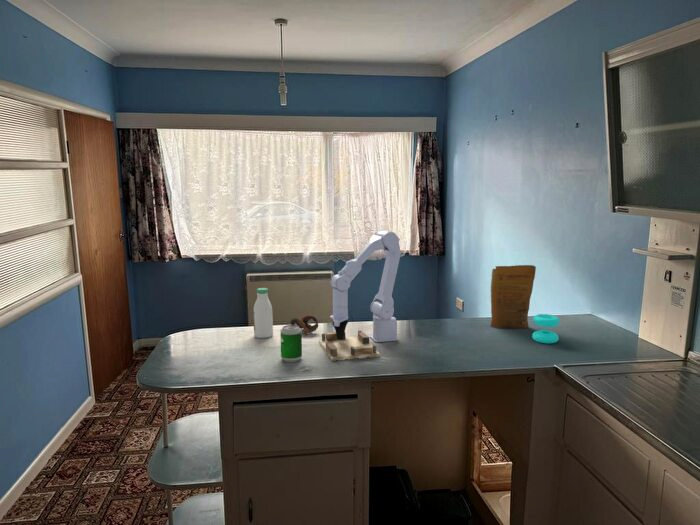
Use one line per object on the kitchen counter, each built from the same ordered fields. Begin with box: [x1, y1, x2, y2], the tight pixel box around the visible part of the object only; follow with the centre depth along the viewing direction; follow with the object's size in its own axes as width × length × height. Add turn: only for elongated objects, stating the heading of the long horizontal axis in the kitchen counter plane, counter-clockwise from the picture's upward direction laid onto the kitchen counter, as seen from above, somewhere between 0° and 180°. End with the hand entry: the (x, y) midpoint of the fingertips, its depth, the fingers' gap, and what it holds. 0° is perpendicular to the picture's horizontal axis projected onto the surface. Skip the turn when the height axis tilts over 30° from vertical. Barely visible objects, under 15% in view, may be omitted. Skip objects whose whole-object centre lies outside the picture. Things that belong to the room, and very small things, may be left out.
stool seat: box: [318, 330, 381, 362], centre depth 189 cm, size 18×22×4 cm
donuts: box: [531, 313, 561, 344], centre depth 199 cm, size 10×10×10 cm
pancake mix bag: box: [490, 264, 537, 330], centre depth 216 cm, size 7×19×28 cm, turn 86°
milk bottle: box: [253, 287, 274, 339], centre depth 204 cm, size 8×8×20 cm
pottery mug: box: [289, 314, 319, 336], centre depth 210 cm, size 12×10×8 cm
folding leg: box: [325, 331, 346, 340], centre depth 197 cm, size 8×3×3 cm, turn 107°
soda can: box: [280, 324, 303, 363], centre depth 177 cm, size 8×8×12 cm
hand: (340, 339), depth 194 cm, fingers closed
